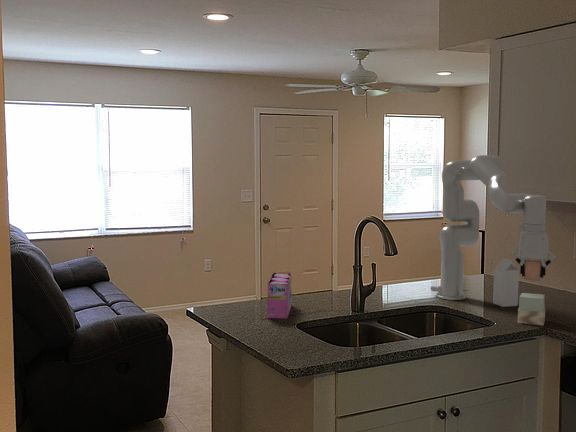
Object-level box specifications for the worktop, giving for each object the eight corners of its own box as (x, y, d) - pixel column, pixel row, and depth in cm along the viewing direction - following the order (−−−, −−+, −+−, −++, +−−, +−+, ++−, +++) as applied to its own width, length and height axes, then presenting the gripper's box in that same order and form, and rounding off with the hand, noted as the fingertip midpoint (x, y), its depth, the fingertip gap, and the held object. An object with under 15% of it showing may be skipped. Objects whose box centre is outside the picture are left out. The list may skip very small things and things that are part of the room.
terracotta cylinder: (523, 279, 244) (523, 261, 243) (524, 277, 249) (525, 258, 248) (540, 281, 241) (541, 262, 241) (541, 278, 247) (542, 259, 246)
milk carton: (502, 307, 269) (504, 261, 267) (492, 303, 276) (494, 258, 274) (517, 306, 271) (519, 260, 269) (507, 302, 278) (509, 258, 276)
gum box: (273, 304, 274) (273, 272, 272) (292, 304, 273) (292, 272, 272) (267, 318, 250) (267, 283, 249) (287, 318, 249) (287, 283, 248)
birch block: (517, 323, 244) (517, 310, 244) (519, 318, 252) (520, 305, 252) (543, 326, 241) (543, 312, 240) (544, 320, 249) (545, 307, 248)
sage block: (518, 309, 244) (519, 296, 244) (521, 305, 251) (522, 292, 251) (541, 312, 241) (542, 298, 240) (544, 307, 248) (544, 294, 247)
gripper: (508, 228, 244) (507, 276, 245) (559, 230, 236) (557, 280, 238) (511, 226, 250) (509, 273, 252) (559, 228, 243) (558, 276, 245)
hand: (532, 276), depth 245 cm, fingers closed on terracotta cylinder, 6 cm apart
